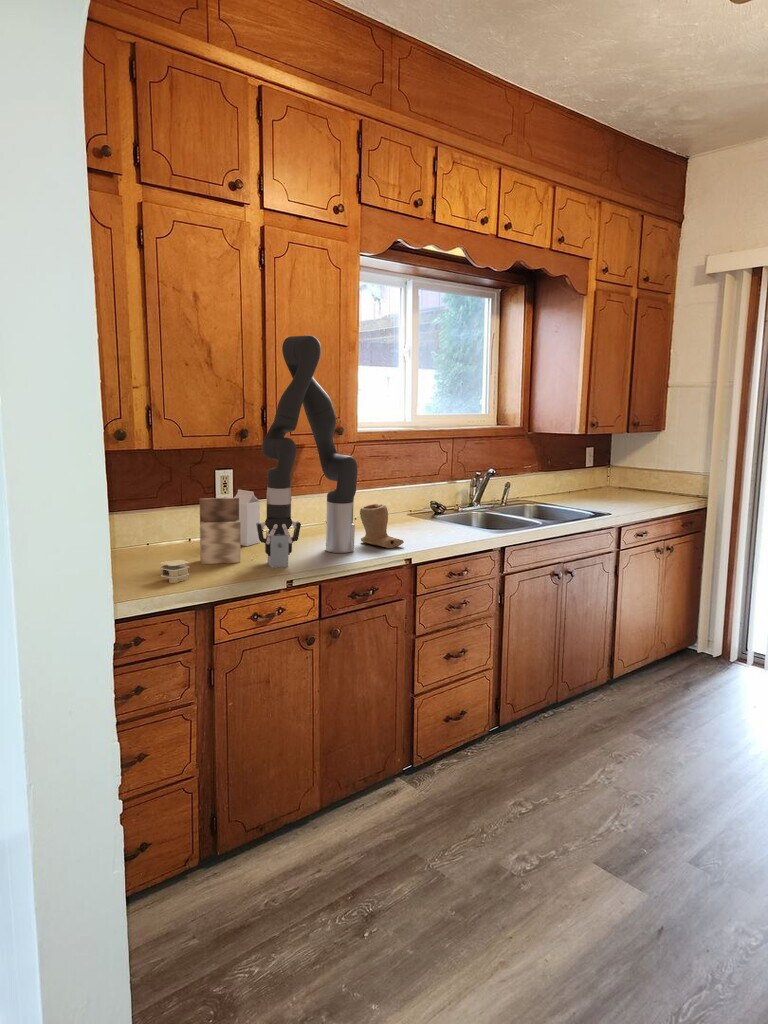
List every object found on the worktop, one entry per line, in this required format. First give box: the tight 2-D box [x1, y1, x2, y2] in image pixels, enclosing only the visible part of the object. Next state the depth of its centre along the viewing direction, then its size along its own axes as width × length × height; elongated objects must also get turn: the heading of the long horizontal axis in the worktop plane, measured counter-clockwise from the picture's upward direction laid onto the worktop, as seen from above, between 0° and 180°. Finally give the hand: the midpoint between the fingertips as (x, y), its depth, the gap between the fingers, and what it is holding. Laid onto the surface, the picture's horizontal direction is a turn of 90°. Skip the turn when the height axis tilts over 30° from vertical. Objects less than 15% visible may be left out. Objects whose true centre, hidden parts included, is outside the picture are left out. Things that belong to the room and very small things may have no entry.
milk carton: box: [233, 489, 261, 547], centre depth 240 cm, size 7×7×19 cm
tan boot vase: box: [359, 503, 404, 549], centre depth 245 cm, size 15×12×15 cm
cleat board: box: [199, 497, 241, 565], centre depth 215 cm, size 12×5×20 cm, turn 109°
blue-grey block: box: [265, 529, 289, 569], centre depth 215 cm, size 6×10×10 cm, turn 19°
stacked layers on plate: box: [160, 559, 190, 584], centre depth 194 cm, size 10×9×6 cm
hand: (278, 554), depth 213 cm, fingers closed on blue-grey block, 5 cm apart
